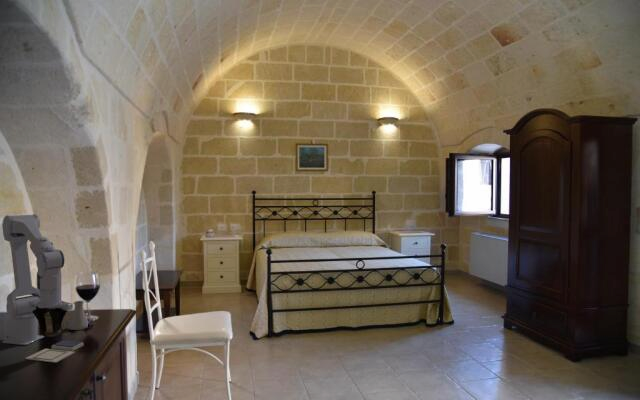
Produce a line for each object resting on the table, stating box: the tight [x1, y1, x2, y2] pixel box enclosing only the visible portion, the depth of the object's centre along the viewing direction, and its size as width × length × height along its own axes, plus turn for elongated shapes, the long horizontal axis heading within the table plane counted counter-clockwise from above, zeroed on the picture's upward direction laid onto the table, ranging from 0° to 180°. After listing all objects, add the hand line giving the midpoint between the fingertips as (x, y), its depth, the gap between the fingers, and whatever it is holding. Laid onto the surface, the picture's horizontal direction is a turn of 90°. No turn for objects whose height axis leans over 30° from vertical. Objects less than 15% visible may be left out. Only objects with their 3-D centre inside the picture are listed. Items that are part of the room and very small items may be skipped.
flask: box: [67, 300, 90, 331], centre depth 166 cm, size 7×7×10 cm
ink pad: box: [51, 339, 84, 352], centre depth 147 cm, size 8×5×1 cm, turn 80°
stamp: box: [44, 312, 62, 338], centre depth 140 cm, size 4×4×7 cm
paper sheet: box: [24, 348, 75, 363], centre depth 140 cm, size 11×8×1 cm
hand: (50, 330), depth 139 cm, fingers closed on stamp, 4 cm apart
